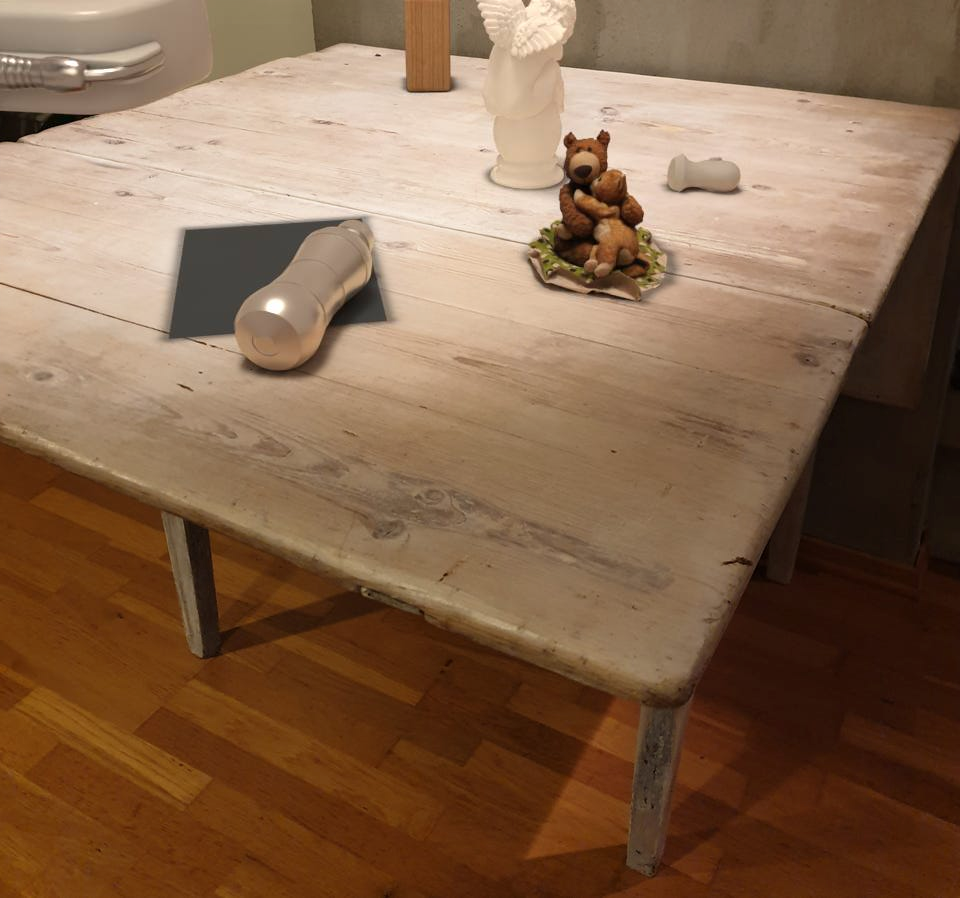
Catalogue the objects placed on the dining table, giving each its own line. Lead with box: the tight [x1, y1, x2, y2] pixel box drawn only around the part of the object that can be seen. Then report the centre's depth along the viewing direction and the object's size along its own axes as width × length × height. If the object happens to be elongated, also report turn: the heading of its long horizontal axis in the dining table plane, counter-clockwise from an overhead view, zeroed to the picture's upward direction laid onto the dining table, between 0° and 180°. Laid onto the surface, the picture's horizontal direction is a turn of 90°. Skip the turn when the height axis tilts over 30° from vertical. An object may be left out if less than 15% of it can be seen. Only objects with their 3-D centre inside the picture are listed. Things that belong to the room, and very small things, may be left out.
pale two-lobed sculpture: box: [666, 153, 742, 193], centre depth 109 cm, size 4×8×5 cm
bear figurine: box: [526, 128, 668, 302], centre depth 89 cm, size 14×15×12 cm
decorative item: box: [402, 0, 452, 93], centre depth 142 cm, size 7×7×20 cm
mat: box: [168, 218, 388, 340], centre depth 91 cm, size 18×24×1 cm
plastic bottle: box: [234, 220, 375, 371], centre depth 81 cm, size 6×7×20 cm
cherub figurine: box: [475, 0, 577, 190], centre depth 105 cm, size 12×12×22 cm
